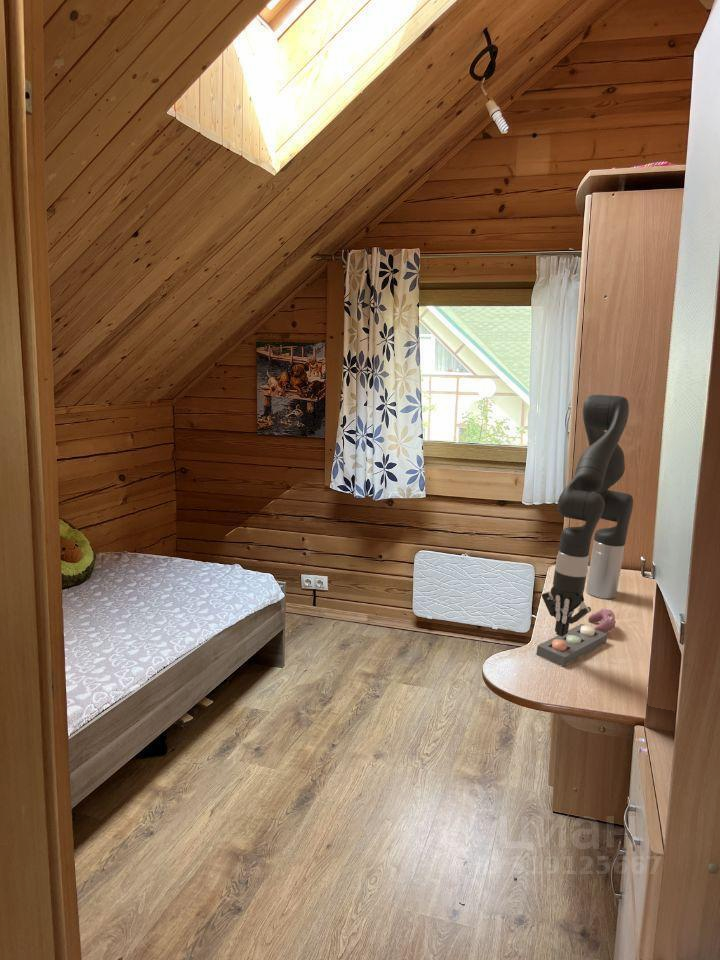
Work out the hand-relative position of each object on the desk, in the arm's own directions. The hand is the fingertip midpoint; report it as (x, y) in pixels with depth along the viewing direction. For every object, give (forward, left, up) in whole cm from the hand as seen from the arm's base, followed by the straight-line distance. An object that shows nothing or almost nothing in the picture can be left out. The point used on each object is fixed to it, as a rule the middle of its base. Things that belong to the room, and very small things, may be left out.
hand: (560, 634), depth 172 cm
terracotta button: (0, 0, -5) cm, 5 cm away
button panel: (-6, +4, -6) cm, 9 cm away
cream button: (-12, +7, -5) cm, 15 cm away
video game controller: (-22, +11, -6) cm, 26 cm away
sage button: (-6, +4, -5) cm, 9 cm away
